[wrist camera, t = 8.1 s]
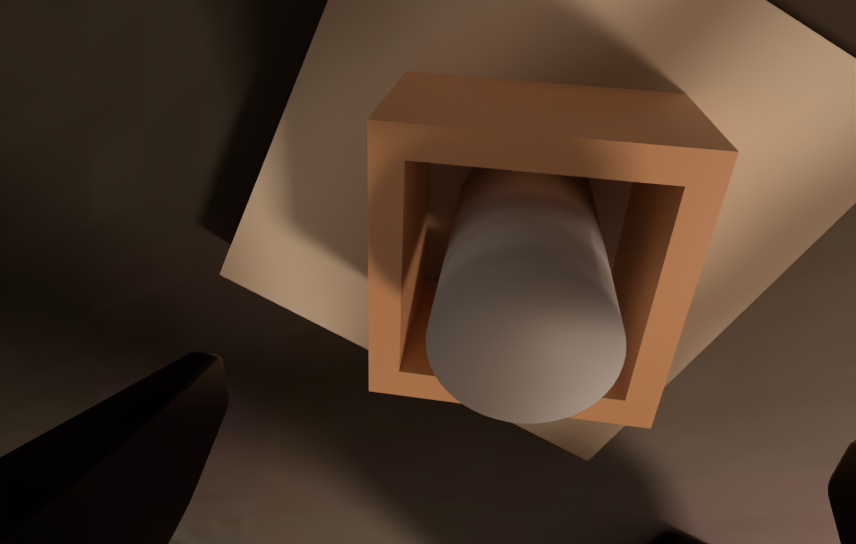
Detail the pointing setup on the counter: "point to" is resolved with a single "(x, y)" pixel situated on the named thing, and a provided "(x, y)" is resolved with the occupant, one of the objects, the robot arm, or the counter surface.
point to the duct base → (564, 48)
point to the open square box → (551, 154)
